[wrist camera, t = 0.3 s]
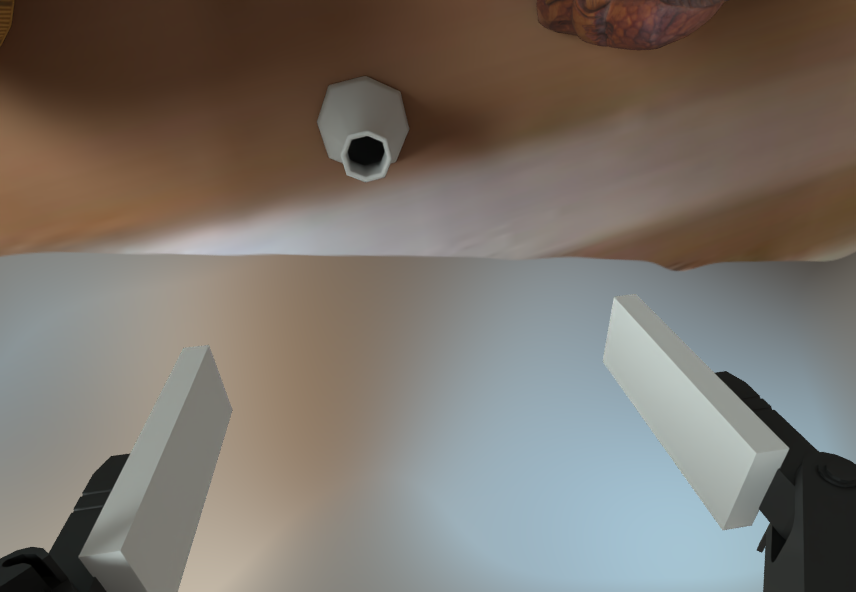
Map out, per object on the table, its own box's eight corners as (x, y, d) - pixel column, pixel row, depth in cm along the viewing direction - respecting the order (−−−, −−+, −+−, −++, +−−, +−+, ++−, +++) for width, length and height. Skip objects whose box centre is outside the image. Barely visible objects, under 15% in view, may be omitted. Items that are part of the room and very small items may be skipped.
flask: (412, 79, 37) (430, 99, 28) (405, 172, 40) (419, 215, 32) (316, 70, 36) (304, 88, 27) (317, 167, 39) (307, 210, 31)
